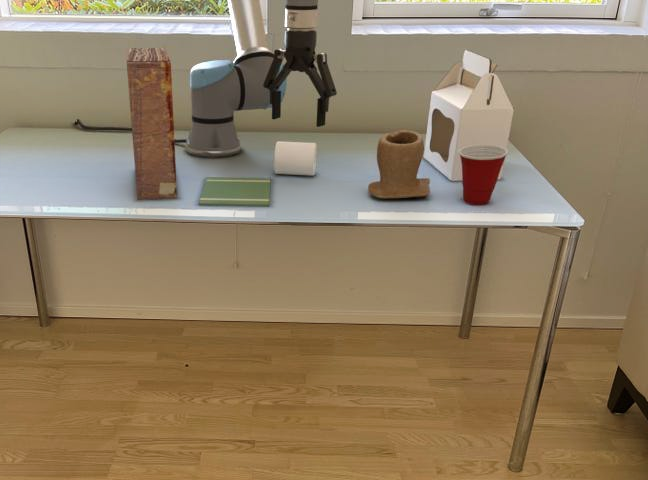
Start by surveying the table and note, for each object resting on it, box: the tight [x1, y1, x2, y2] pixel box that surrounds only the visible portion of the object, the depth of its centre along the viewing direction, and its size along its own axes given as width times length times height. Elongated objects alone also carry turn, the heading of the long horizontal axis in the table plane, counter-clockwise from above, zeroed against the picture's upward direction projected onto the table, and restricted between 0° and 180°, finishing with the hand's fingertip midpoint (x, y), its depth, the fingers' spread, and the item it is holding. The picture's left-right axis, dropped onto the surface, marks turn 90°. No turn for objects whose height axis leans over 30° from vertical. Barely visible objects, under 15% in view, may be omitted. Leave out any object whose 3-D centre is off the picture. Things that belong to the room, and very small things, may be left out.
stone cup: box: [367, 129, 431, 199], centre depth 167 cm, size 15×12×15 cm
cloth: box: [198, 176, 272, 207], centre depth 173 cm, size 16×20×1 cm
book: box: [126, 44, 178, 201], centre depth 171 cm, size 25×9×30 cm, turn 9°
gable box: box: [423, 49, 515, 182], centre depth 184 cm, size 22×13×28 cm, turn 7°
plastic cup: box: [458, 145, 509, 206], centre depth 165 cm, size 11×11×12 cm
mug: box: [273, 140, 318, 177], centre depth 186 cm, size 12×10×8 cm
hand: (298, 122), depth 181 cm, fingers open, 13 cm apart
